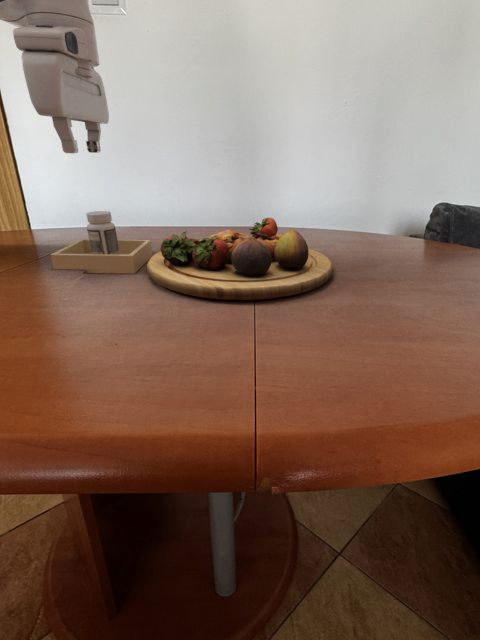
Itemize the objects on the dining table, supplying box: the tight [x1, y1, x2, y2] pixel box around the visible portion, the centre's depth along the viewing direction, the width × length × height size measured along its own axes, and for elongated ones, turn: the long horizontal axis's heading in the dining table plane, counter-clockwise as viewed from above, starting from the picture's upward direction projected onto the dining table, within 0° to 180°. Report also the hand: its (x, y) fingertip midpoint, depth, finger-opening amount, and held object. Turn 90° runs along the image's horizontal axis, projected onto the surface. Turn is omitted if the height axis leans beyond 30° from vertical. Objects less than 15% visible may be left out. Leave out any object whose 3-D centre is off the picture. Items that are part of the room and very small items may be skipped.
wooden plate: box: [146, 217, 334, 301], centre depth 65 cm, size 32×32×8 cm
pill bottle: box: [85, 210, 120, 255], centre depth 68 cm, size 5×5×8 cm
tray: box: [50, 238, 154, 275], centre depth 69 cm, size 14×13×3 cm
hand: (83, 153), depth 62 cm, fingers open, 8 cm apart
